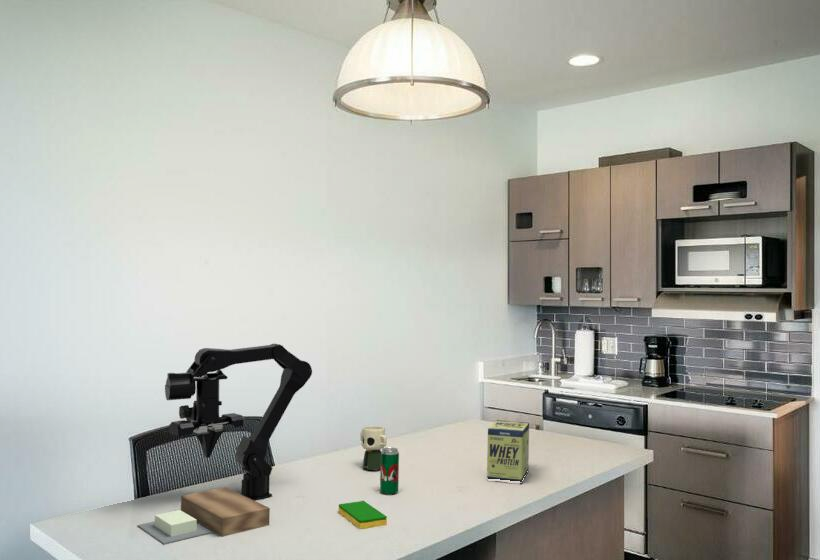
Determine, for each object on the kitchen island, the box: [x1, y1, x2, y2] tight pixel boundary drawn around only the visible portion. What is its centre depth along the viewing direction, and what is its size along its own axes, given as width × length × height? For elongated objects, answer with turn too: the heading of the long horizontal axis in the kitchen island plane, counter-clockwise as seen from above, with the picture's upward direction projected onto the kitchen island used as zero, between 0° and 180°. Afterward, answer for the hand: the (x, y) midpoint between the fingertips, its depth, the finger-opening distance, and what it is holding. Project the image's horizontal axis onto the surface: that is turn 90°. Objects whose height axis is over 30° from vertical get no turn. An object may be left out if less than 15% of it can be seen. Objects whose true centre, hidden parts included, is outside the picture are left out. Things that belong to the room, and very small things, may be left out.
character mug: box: [359, 425, 388, 471], centre depth 216 cm, size 11×7×13 cm, turn 49°
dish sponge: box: [338, 500, 388, 530], centre depth 170 cm, size 7×14×2 cm, turn 28°
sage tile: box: [154, 509, 198, 537], centre depth 160 cm, size 6×9×2 cm, turn 43°
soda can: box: [379, 446, 400, 495], centre depth 192 cm, size 5×5×12 cm
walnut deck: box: [180, 487, 271, 537], centre depth 168 cm, size 12×22×4 cm, turn 42°
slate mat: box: [137, 520, 212, 545], centre depth 160 cm, size 11×15×1 cm
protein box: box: [486, 419, 530, 483], centre depth 211 cm, size 10×16×16 cm
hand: (207, 457), depth 180 cm, fingers closed
